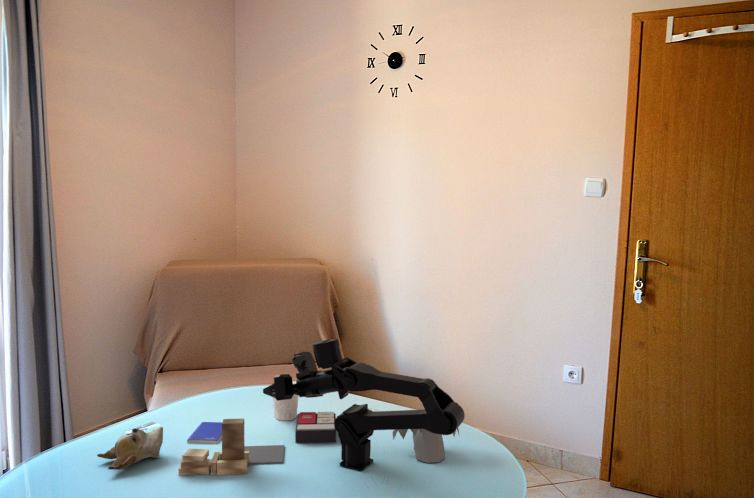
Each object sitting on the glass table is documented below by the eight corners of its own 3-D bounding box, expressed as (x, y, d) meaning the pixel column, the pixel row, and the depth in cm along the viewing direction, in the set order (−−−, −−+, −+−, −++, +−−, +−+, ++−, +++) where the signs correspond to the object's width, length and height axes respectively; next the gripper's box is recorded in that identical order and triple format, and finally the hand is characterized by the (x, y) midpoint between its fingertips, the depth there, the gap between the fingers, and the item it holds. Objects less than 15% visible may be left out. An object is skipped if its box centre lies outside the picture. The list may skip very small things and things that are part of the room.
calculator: (335, 410, 176) (336, 427, 161) (335, 424, 176) (336, 443, 161) (297, 410, 175) (295, 428, 160) (297, 425, 176) (295, 444, 160)
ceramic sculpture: (170, 427, 148) (106, 446, 138) (172, 460, 149) (110, 481, 139) (154, 415, 156) (93, 432, 146) (157, 446, 157) (97, 465, 147)
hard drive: (217, 439, 159) (229, 422, 172) (186, 438, 159) (201, 421, 172) (217, 445, 159) (229, 427, 172) (187, 444, 160) (201, 426, 172)
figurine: (454, 441, 164) (455, 402, 163) (467, 461, 151) (468, 420, 150) (389, 444, 161) (390, 404, 160) (397, 465, 149) (398, 422, 148)
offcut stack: (212, 464, 147) (212, 446, 147) (208, 474, 142) (208, 456, 141) (182, 465, 146) (182, 447, 146) (178, 475, 141) (177, 457, 141)
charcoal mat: (284, 446, 158) (284, 445, 158) (282, 463, 148) (282, 461, 148) (238, 447, 157) (238, 446, 157) (233, 465, 147) (233, 463, 147)
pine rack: (249, 462, 148) (249, 450, 148) (246, 473, 143) (246, 461, 142) (214, 463, 147) (214, 452, 147) (210, 475, 142) (210, 462, 141)
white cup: (269, 414, 181) (269, 382, 180) (294, 410, 185) (294, 379, 184) (276, 423, 174) (276, 390, 173) (302, 419, 177) (302, 387, 177)
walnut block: (244, 465, 147) (244, 418, 146) (243, 471, 144) (243, 423, 143) (223, 466, 146) (223, 419, 145) (222, 471, 143) (221, 423, 142)
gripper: (338, 351, 161) (292, 360, 168) (298, 349, 145) (248, 360, 152) (343, 392, 159) (296, 400, 165) (303, 396, 142) (252, 404, 149)
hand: (274, 390), depth 158 cm, fingers open, 9 cm apart
